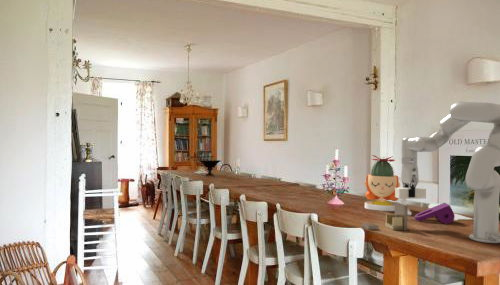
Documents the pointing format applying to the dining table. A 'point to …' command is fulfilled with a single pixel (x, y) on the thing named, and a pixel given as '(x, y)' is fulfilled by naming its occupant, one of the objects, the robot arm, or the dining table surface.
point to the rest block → (370, 225)
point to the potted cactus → (381, 186)
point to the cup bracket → (397, 217)
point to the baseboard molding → (461, 218)
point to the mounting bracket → (437, 213)
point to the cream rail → (404, 193)
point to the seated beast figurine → (405, 204)
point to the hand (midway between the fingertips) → (409, 196)
